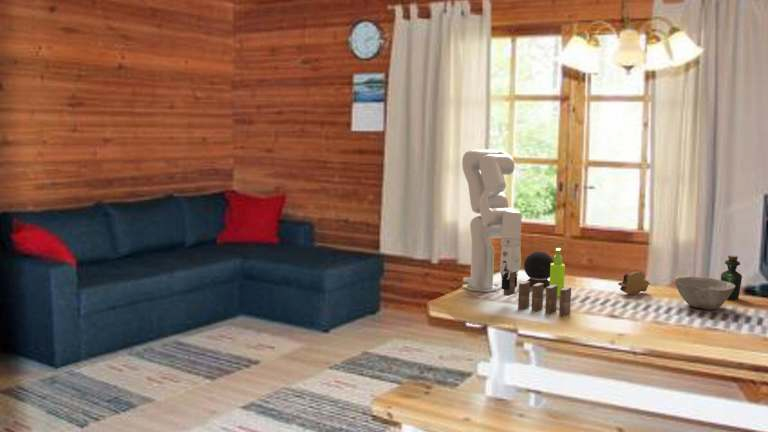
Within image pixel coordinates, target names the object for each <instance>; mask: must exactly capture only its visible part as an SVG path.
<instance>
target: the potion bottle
mask: <svg viewBox="0 0 768 432" xmlns="http://www.w3.org/2000/svg"><path fill="white" fill-rule="evenodd" d="M727 258H728V259H726V260H725V261H724V264H725V265H727V270H725V271H723V272H721V274H720V280H721V281H726V282H729V283H732V284H734V285H735V288H734V290H733V291H732V293H731V294H730V296H729V298H728V299H727V300H729V301H737V300H739V299H740V298H739V297H740V291H741V285H742V282H743V281H742V280H743V276H742V274H741V273H739V272H738V271H737V268H738V266H740V265H741V262H740V261H739V260H738V258H739V256H738V255H734V254H728V256H727Z"/></svg>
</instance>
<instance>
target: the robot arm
mask: <svg viewBox="0 0 768 432" xmlns="http://www.w3.org/2000/svg"><path fill="white" fill-rule="evenodd" d="M461 161H462V162H461V164H462V170H463V174H464V177H465V179H466V181H467V185H468V193H469V201H470V206H471V207H470V208H471V210H472V212H473V213H475V214H479V216H475V217H473V218H472V219H471V221H470V223H469V224H470V225H469V228H470V229H469V230H470V235H471V236H470V237H471V257H470V258H471V259H470V260H471V261H470V262H471V263H470V277H466V276H465V277H464V276H463V278H462V283H467V285H466V289H467V290H469V291H471V292H478V293H491V292H496V291H497V286H496V285H494V266H495V263H494V262H495V248H494V245H493V244H492V242H491V240H490V239H500V246H501V251H500V252H501V253H500V262H499V263H500V266H499V268H500V269H499V270H500V271H499V273H500V276H501V278H500V279H501V289H502V290H504V289H505V290H509V289H510V280H509V277H510V272H511V273H513V272H515V288H517V287H518V275H519V274H518V273H519V271H520V270H521V269H522V252H521V249H522V248H521V246H522V245H521V243H522V241H521V240H522V218H523V217H522V212H521V211H519V210H516V209H514V208H513V207H509V205H510V204H509V201H508V199H509V198H508V197H507V196H506V194H505V193H504V191H505V190H506V188H507V184H506V180H505V177H504V176H509V175H512V174H513V173H514V170H515V161H514V159H513V157H512V156H511V155H510V154H509V153H507V152H505V151H503V150H498V149H473V150H468V151H466V152H465V153H464V154H463V156H462V160H461ZM505 270H508V271H505ZM506 273H508V274H506Z"/></svg>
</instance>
